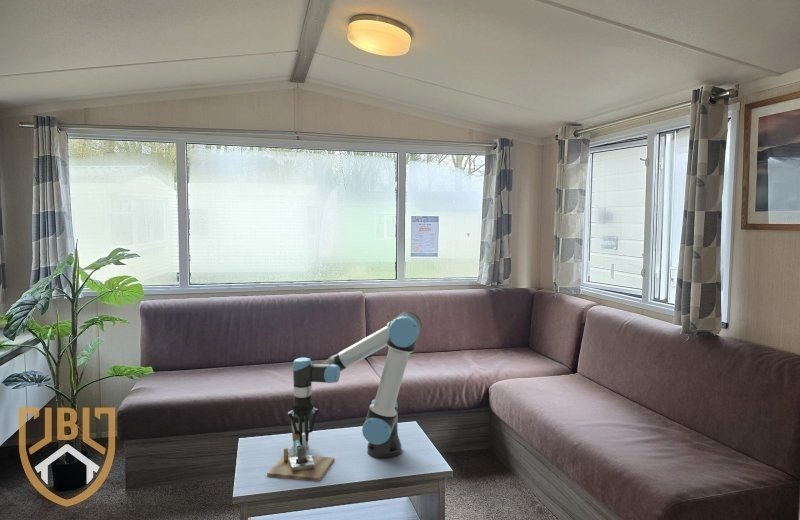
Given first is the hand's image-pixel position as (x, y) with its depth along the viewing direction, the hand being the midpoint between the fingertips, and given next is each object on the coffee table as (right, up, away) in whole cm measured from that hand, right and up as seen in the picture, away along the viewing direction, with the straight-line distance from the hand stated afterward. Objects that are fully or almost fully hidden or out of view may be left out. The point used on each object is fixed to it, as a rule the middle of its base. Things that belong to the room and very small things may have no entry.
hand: (303, 448), depth 216 cm
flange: (0, -3, -5) cm, 6 cm away
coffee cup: (-4, -4, +12) cm, 13 cm away
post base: (+1, -5, -8) cm, 9 cm away
